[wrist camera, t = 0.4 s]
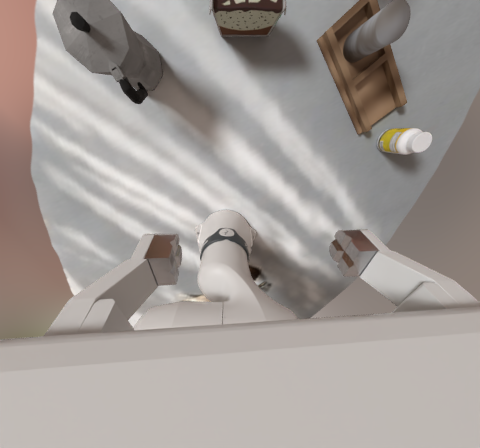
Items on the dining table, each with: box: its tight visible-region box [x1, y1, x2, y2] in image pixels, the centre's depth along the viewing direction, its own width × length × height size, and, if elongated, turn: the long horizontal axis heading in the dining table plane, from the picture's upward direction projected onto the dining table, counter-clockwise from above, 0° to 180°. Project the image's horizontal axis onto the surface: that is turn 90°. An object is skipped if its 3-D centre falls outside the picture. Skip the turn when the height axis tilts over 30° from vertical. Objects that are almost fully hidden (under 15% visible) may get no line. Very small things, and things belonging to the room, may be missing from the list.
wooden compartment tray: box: [317, 0, 410, 134], centre depth 36 cm, size 22×11×11 cm, turn 39°
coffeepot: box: [53, 0, 163, 104], centre depth 31 cm, size 15×9×18 cm, turn 25°
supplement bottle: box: [377, 128, 432, 155], centre depth 43 cm, size 5×5×10 cm
